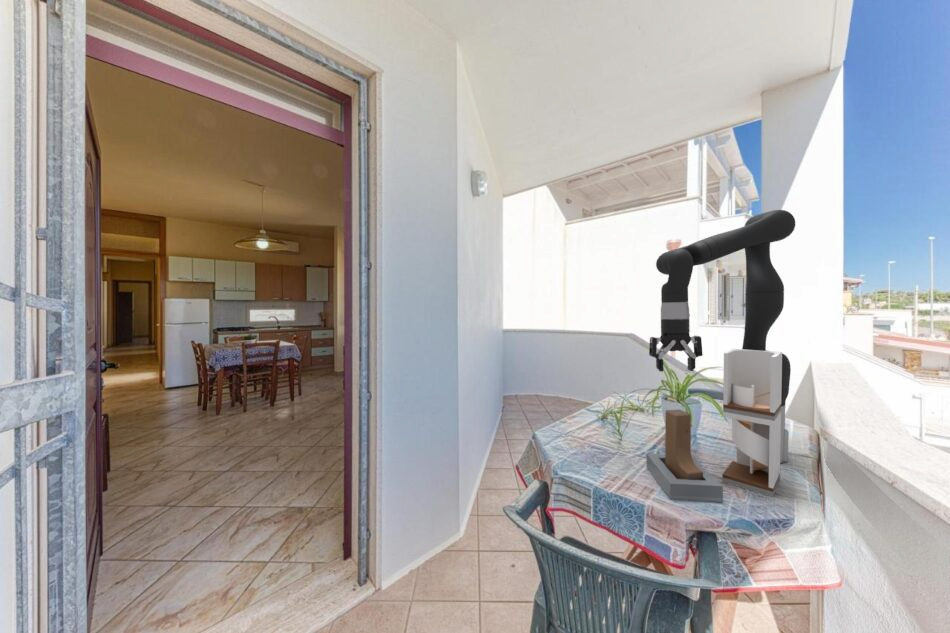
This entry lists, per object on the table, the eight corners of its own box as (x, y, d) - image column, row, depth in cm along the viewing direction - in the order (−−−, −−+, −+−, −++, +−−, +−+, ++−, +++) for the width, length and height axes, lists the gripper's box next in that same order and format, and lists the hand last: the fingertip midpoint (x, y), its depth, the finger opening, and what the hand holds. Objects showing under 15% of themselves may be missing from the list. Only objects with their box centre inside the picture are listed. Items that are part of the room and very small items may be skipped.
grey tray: (689, 468, 105) (690, 455, 104) (722, 502, 87) (722, 486, 87) (646, 466, 106) (646, 453, 106) (670, 499, 89) (670, 483, 89)
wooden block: (703, 489, 91) (704, 419, 91) (687, 490, 91) (688, 420, 90) (679, 472, 100) (679, 409, 100) (664, 473, 100) (664, 409, 99)
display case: (732, 467, 105) (733, 348, 103) (779, 480, 97) (782, 352, 96) (722, 481, 97) (723, 353, 96) (772, 496, 89) (775, 357, 88)
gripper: (693, 315, 111) (694, 368, 111) (645, 317, 112) (646, 368, 113) (706, 317, 103) (707, 373, 104) (654, 318, 105) (655, 373, 105)
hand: (675, 370), depth 108 cm, fingers open, 8 cm apart
